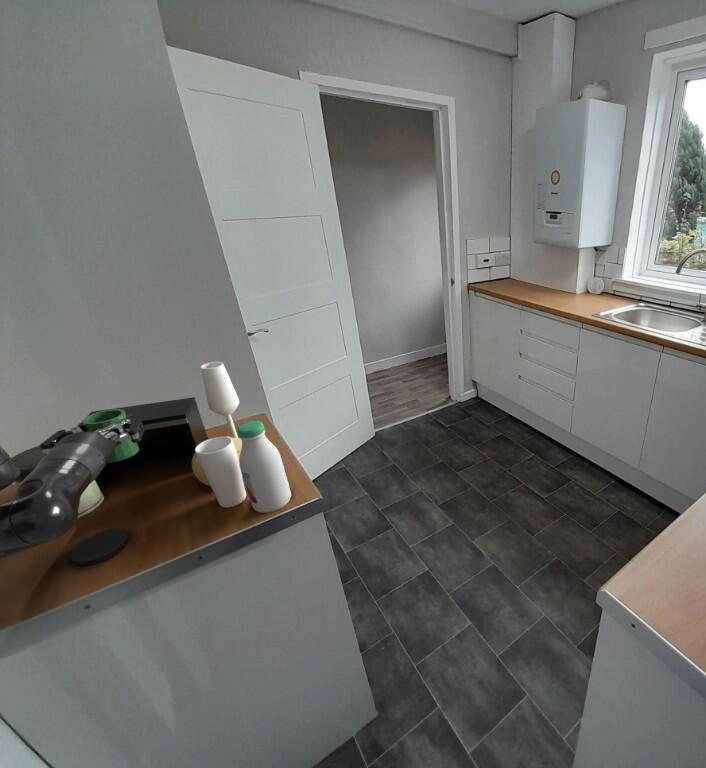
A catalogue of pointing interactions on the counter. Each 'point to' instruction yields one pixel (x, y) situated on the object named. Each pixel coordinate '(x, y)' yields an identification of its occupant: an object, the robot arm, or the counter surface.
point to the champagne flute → (220, 392)
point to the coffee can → (30, 461)
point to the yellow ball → (197, 468)
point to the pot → (106, 419)
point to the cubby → (160, 434)
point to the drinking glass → (222, 470)
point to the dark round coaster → (99, 547)
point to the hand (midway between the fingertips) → (111, 419)
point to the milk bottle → (262, 469)
